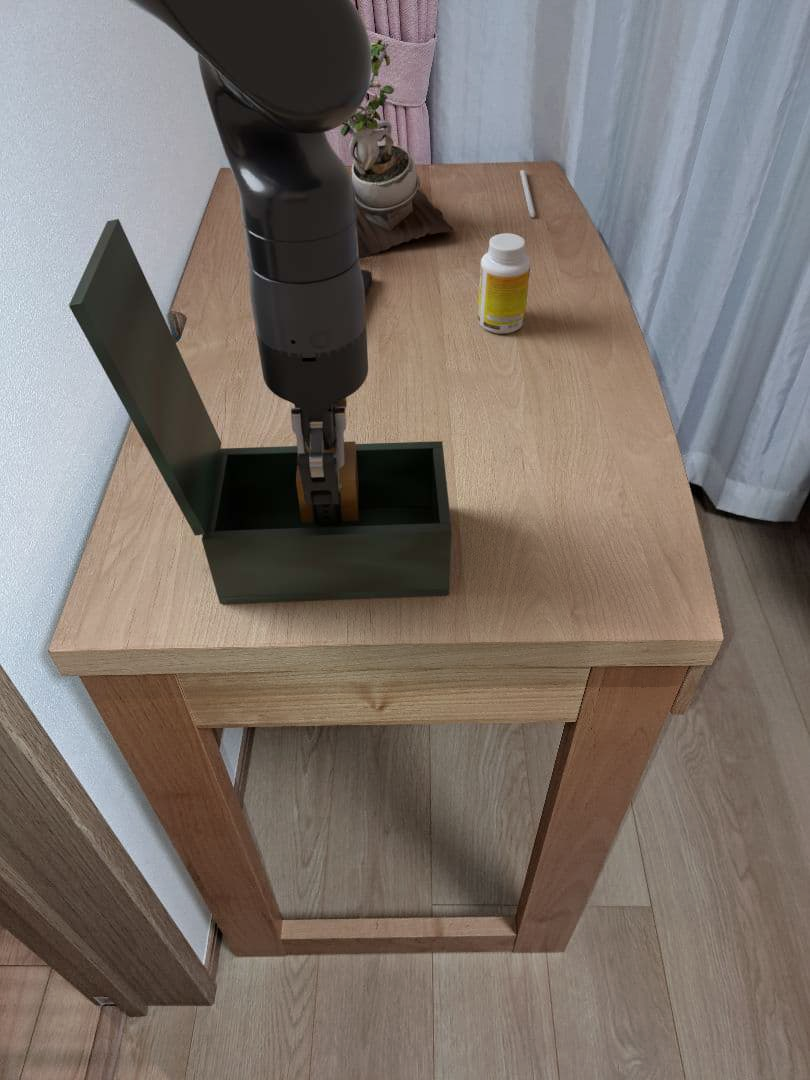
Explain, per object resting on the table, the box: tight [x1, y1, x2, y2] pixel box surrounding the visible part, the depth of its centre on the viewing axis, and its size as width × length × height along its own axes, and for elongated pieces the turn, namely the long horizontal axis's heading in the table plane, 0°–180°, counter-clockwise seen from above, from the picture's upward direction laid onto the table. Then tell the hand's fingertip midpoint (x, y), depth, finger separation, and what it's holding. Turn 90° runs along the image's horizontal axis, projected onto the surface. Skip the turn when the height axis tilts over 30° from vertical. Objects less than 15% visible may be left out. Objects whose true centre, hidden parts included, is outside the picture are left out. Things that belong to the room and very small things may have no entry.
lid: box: [68, 218, 222, 537], centre depth 59 cm, size 20×11×1 cm
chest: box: [201, 440, 453, 605], centre depth 70 cm, size 19×11×8 cm, turn 92°
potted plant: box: [340, 38, 457, 259], centre depth 108 cm, size 20×19×25 cm
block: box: [296, 441, 358, 523], centre depth 67 cm, size 5×5×5 cm
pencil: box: [519, 169, 536, 219], centre depth 121 cm, size 1×1×15 cm
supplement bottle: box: [477, 232, 531, 335], centre depth 94 cm, size 6×6×10 cm
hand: (329, 499), depth 68 cm, fingers closed on block, 4 cm apart
